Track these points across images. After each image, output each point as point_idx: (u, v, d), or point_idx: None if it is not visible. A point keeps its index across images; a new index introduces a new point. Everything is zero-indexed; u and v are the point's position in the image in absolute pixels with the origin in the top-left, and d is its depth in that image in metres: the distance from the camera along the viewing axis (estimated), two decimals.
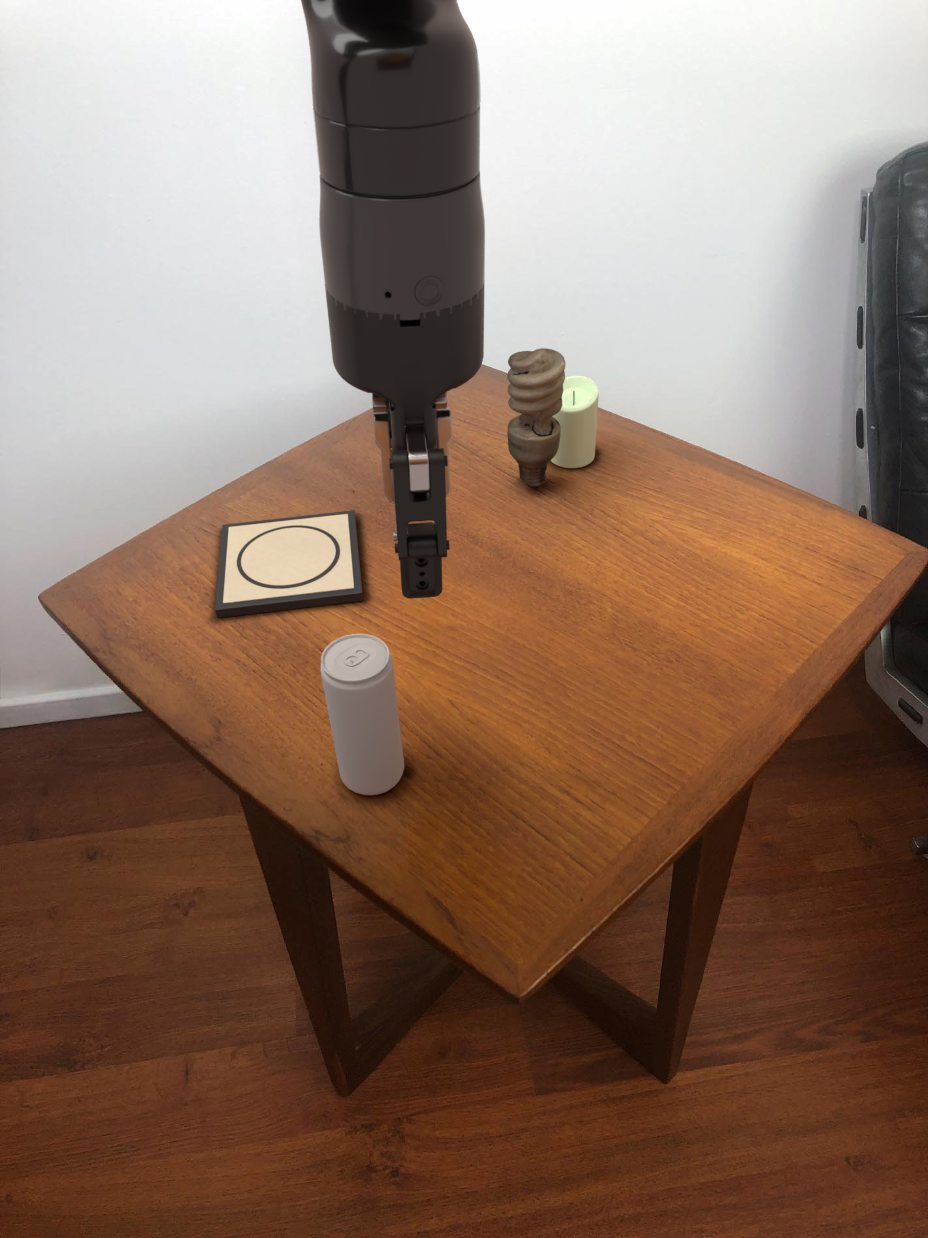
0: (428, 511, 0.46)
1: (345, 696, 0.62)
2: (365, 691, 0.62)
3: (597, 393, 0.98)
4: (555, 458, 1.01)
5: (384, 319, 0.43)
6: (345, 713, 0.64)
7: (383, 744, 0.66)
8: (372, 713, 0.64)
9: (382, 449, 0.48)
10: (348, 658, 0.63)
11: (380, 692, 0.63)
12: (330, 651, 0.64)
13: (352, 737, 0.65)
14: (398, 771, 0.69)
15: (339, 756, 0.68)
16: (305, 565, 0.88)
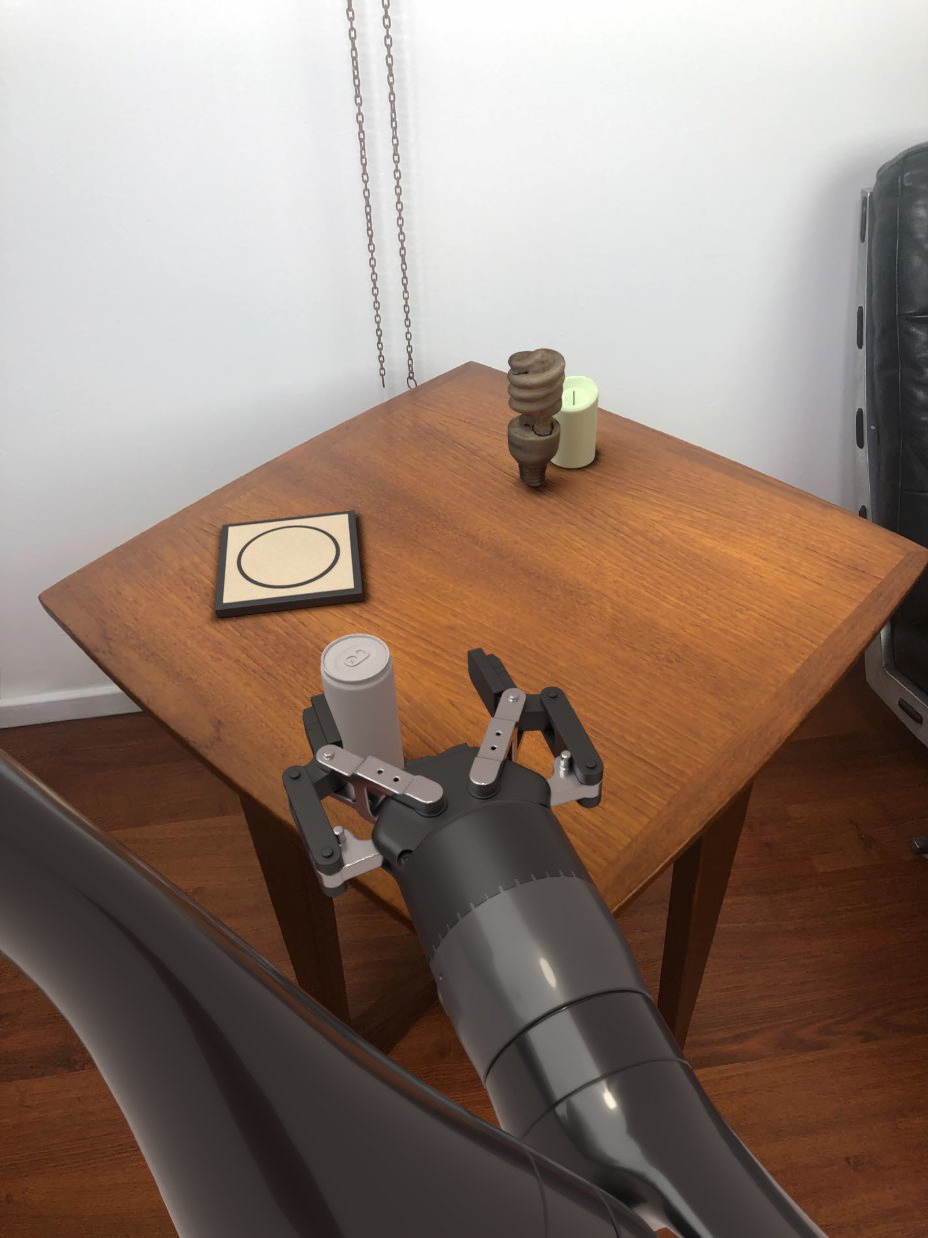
0: (303, 839, 0.44)
1: (345, 696, 0.62)
2: (365, 691, 0.62)
3: (597, 393, 0.98)
4: (555, 458, 1.01)
5: (432, 948, 0.38)
6: (345, 713, 0.64)
7: (383, 744, 0.66)
8: (372, 713, 0.64)
9: (397, 794, 0.43)
10: (348, 658, 0.63)
11: (380, 692, 0.63)
12: (330, 651, 0.64)
13: (352, 737, 0.65)
14: None
15: None
16: (305, 565, 0.88)
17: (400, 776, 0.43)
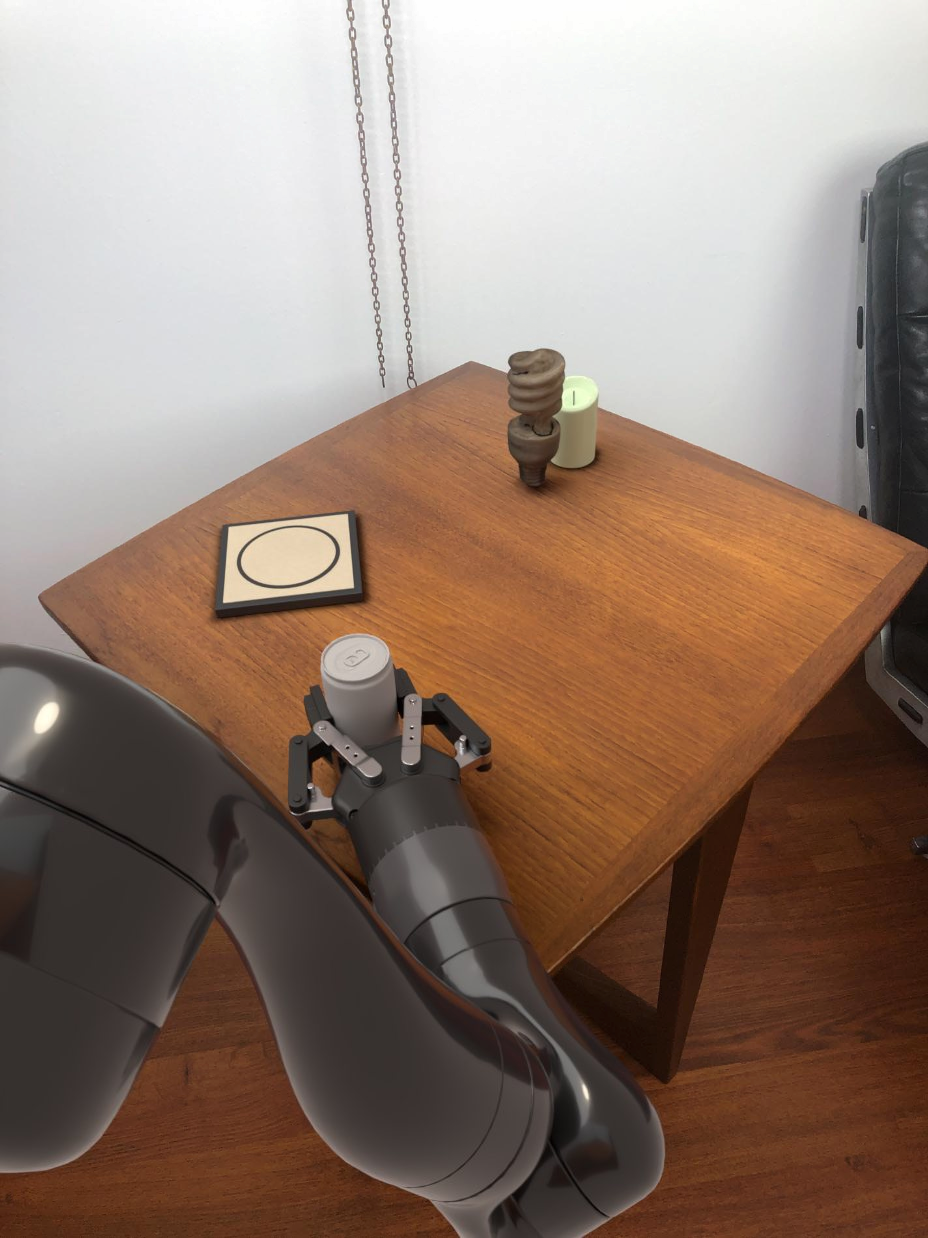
0: None
1: (345, 696, 0.62)
2: (365, 691, 0.62)
3: (597, 393, 0.98)
4: (555, 458, 1.01)
5: (368, 874, 0.55)
6: (345, 713, 0.64)
7: None
8: (372, 713, 0.64)
9: (352, 765, 0.61)
10: (348, 657, 0.63)
11: (380, 692, 0.63)
12: (330, 651, 0.64)
13: (352, 737, 0.65)
14: None
15: None
16: (305, 565, 0.88)
17: (352, 758, 0.61)
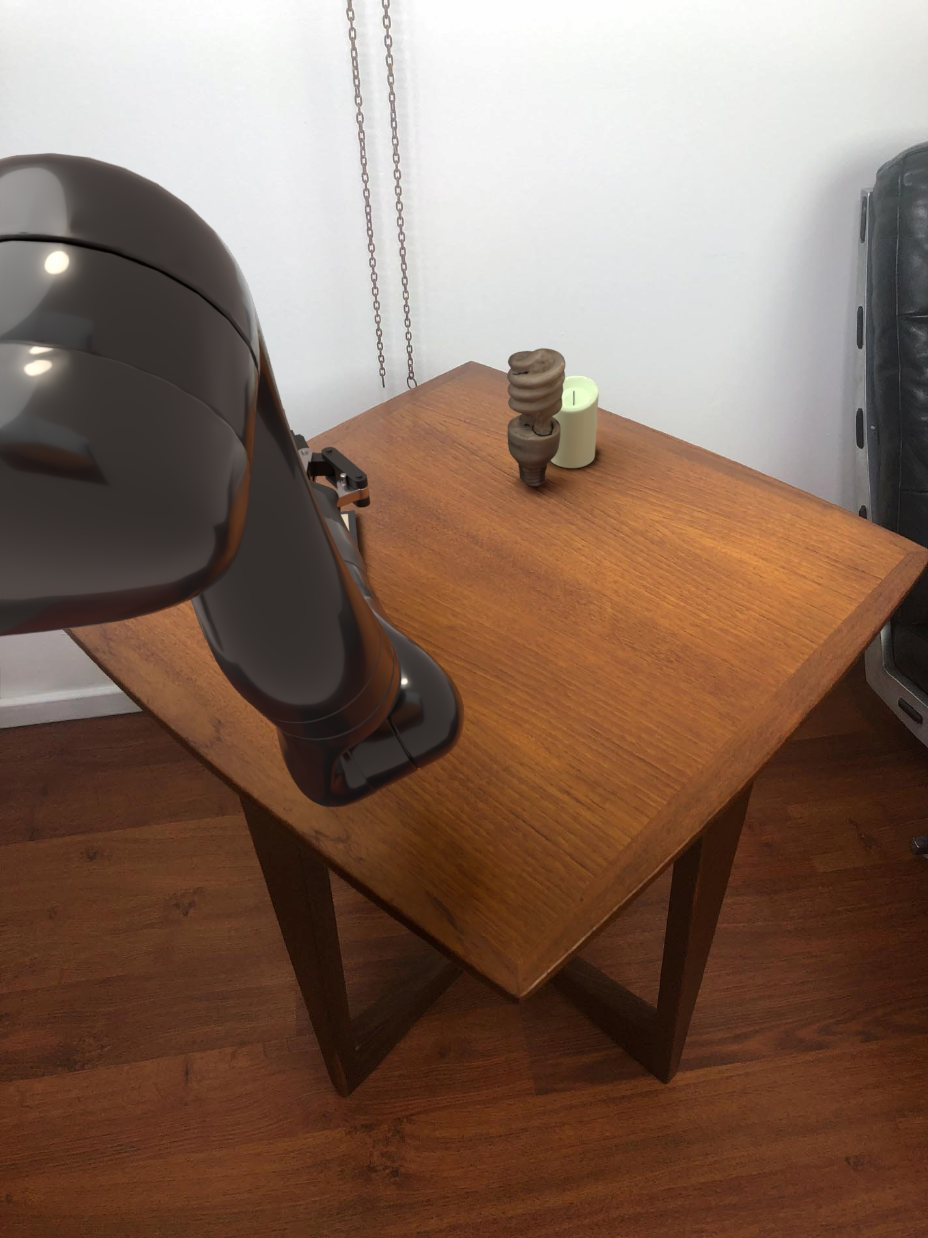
0: None
1: None
2: None
3: (597, 393, 0.98)
4: (555, 458, 1.01)
5: None
6: None
7: None
8: None
9: None
10: None
11: None
12: None
13: None
14: None
15: None
16: None
17: None
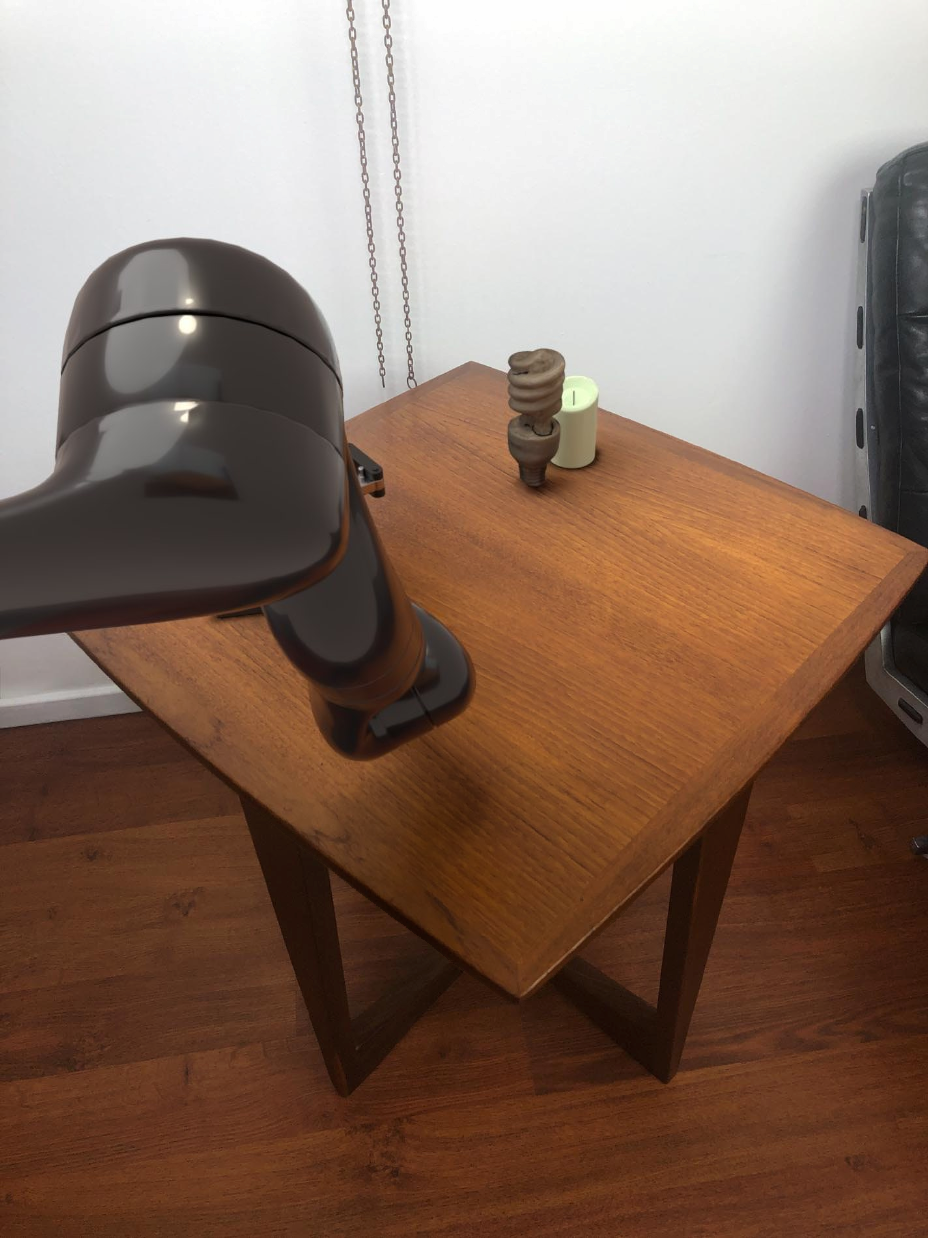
0: None
1: None
2: None
3: (597, 393, 0.98)
4: (555, 458, 1.01)
5: None
6: None
7: None
8: None
9: None
10: None
11: None
12: None
13: None
14: None
15: None
16: None
17: None
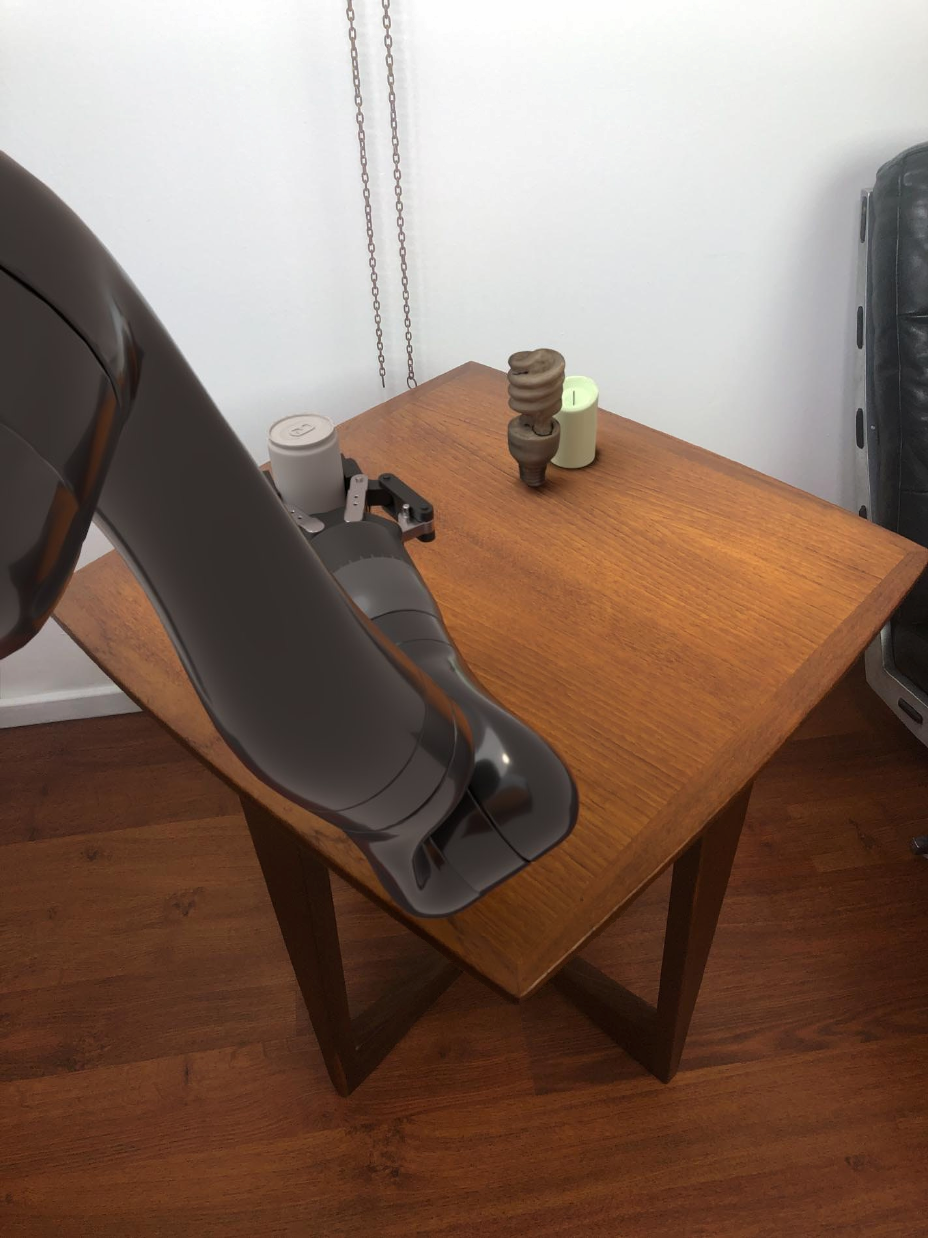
0: None
1: (291, 464, 0.64)
2: (310, 457, 0.64)
3: (597, 393, 0.98)
4: (555, 458, 1.01)
5: None
6: (291, 485, 0.65)
7: None
8: (318, 485, 0.65)
9: None
10: (293, 430, 0.65)
11: (325, 461, 0.65)
12: (276, 426, 0.65)
13: None
14: None
15: None
16: None
17: (296, 520, 0.62)
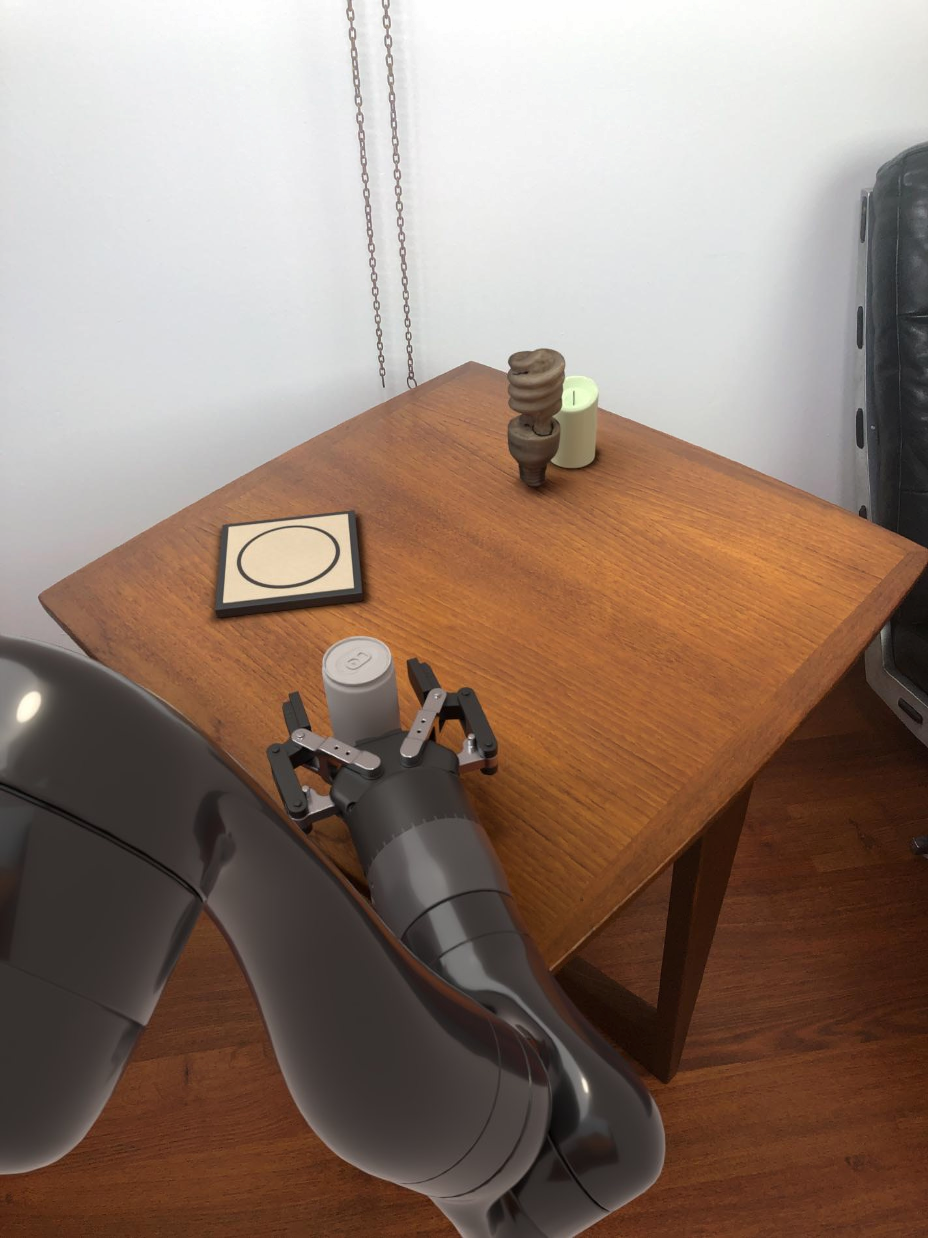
0: (281, 796, 0.61)
1: (347, 699, 0.62)
2: (367, 694, 0.62)
3: (597, 393, 0.98)
4: (555, 458, 1.01)
5: (367, 866, 0.55)
6: (347, 716, 0.63)
7: None
8: (374, 716, 0.64)
9: (348, 763, 0.60)
10: (349, 660, 0.63)
11: (382, 695, 0.63)
12: (331, 654, 0.64)
13: (354, 740, 0.65)
14: None
15: None
16: (305, 565, 0.88)
17: (351, 751, 0.61)
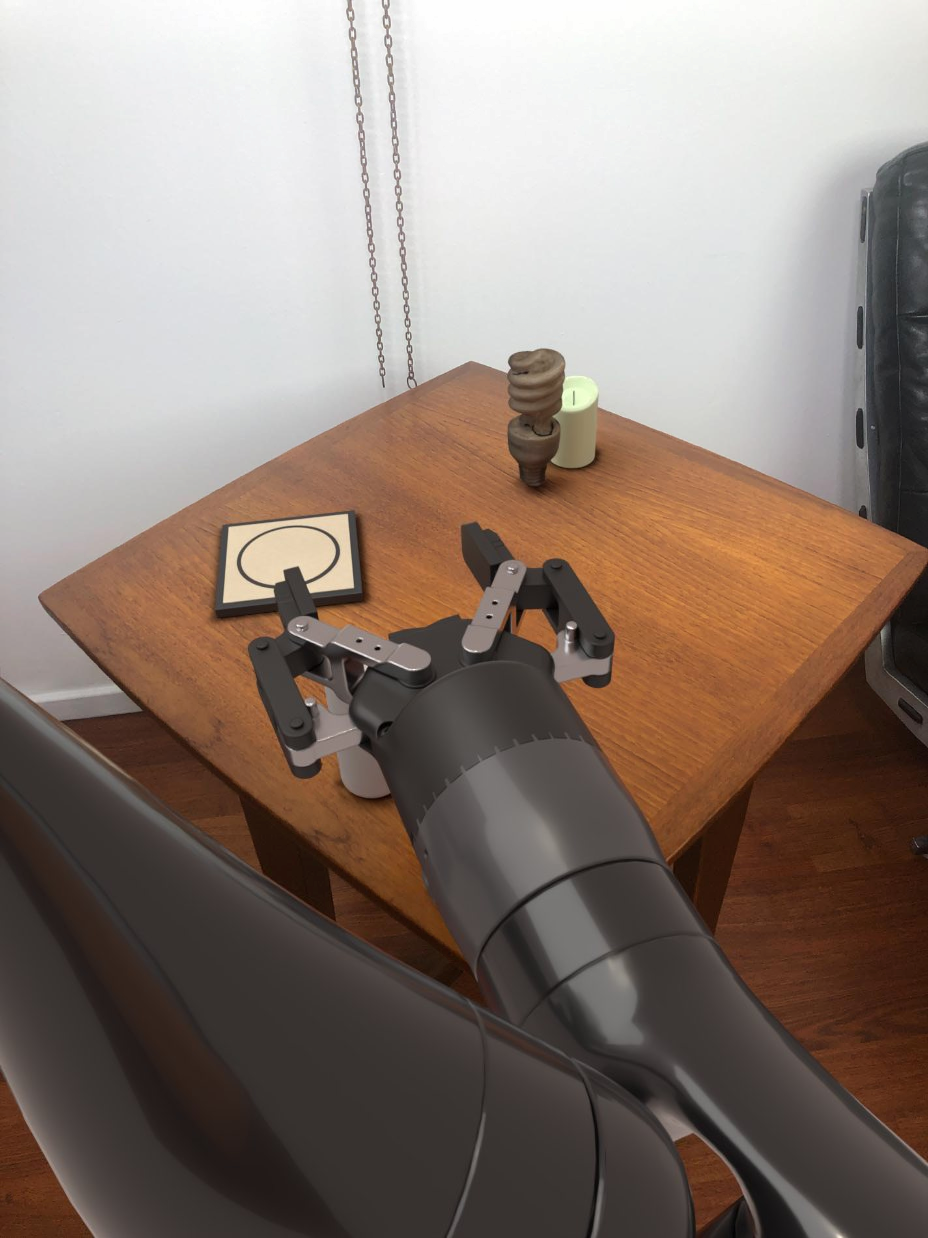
0: (271, 717, 0.38)
1: None
2: None
3: (597, 393, 0.98)
4: (555, 458, 1.01)
5: (415, 822, 0.32)
6: None
7: None
8: None
9: (378, 663, 0.37)
10: None
11: None
12: None
13: None
14: None
15: (341, 759, 0.68)
16: (305, 565, 0.88)
17: (382, 645, 0.38)
